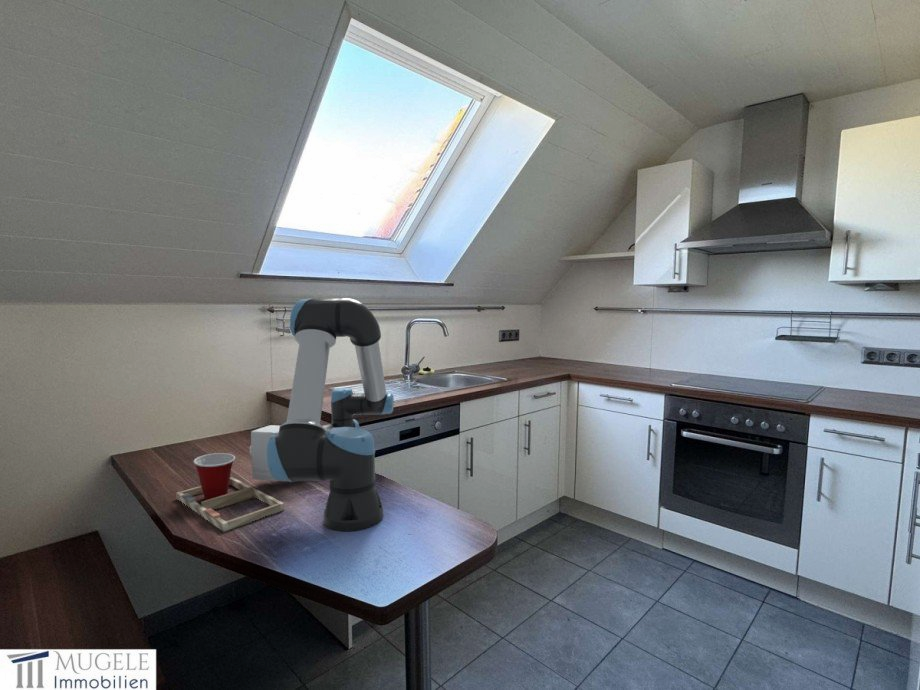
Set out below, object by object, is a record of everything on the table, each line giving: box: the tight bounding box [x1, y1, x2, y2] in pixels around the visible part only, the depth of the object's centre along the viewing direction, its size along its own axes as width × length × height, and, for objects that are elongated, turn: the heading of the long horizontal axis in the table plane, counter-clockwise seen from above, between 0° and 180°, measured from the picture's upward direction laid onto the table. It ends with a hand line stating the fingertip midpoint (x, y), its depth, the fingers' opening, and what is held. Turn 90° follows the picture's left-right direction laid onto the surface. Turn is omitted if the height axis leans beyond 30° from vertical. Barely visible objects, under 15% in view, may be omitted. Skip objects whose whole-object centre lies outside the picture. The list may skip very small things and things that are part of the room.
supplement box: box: [250, 424, 281, 482], centre depth 143 cm, size 9×9×15 cm
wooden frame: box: [176, 476, 285, 532], centre depth 130 cm, size 32×16×3 cm, turn 50°
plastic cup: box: [193, 452, 236, 501], centre depth 135 cm, size 11×11×12 cm
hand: (260, 453), depth 140 cm, fingers closed on supplement box, 11 cm apart
